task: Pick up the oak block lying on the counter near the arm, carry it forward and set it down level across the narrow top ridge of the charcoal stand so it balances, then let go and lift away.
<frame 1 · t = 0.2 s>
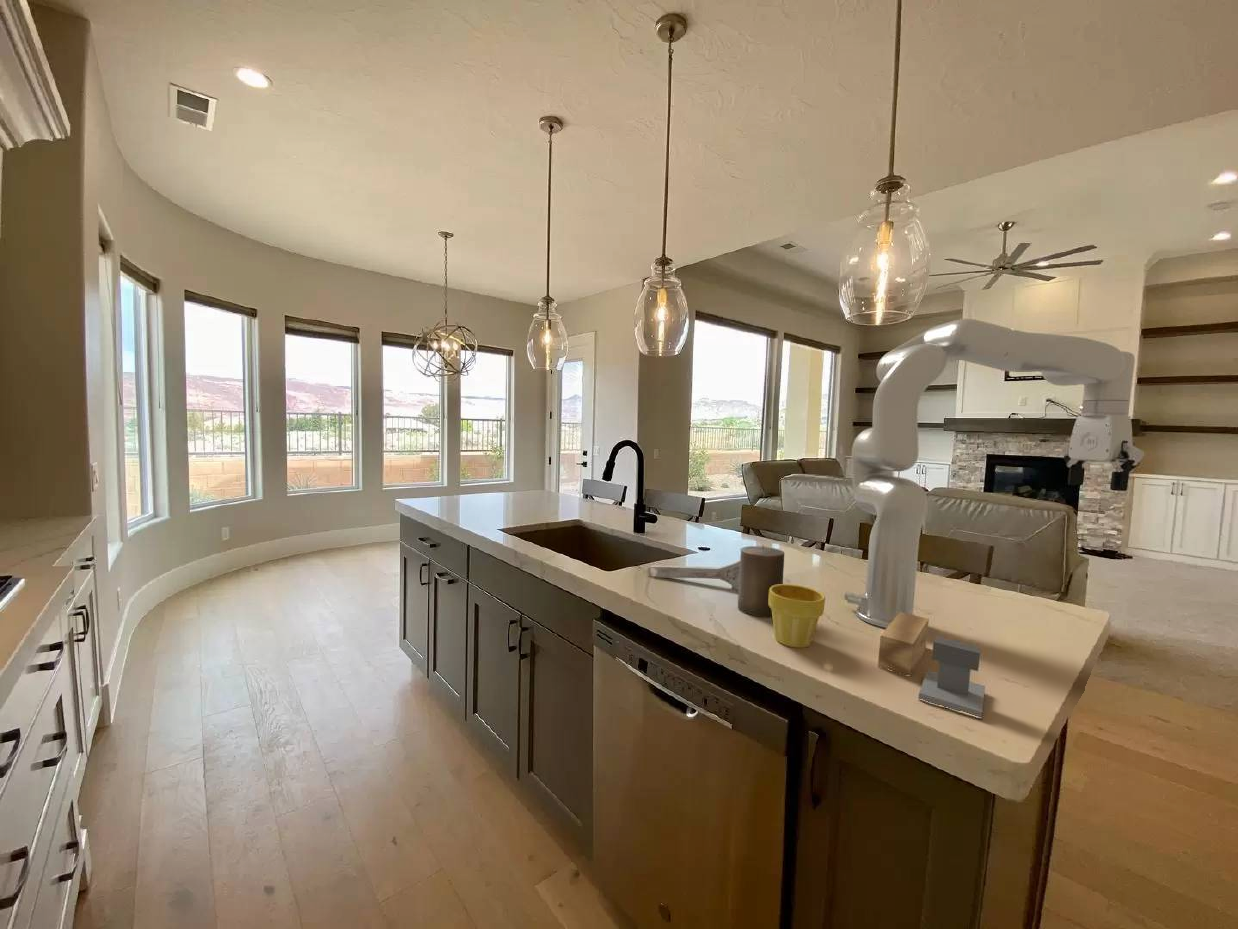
hand: (1095, 487, 113), 31 cm above the counter, tool pointing down, fingers open, 9 cm apart
pillar candle: (758, 610, 117), on the counter
wrench: (700, 584, 135), on the counter
oak block: (903, 658, 95), on the counter
plant pot: (793, 641, 100), on the counter
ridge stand: (951, 696, 81), on the counter
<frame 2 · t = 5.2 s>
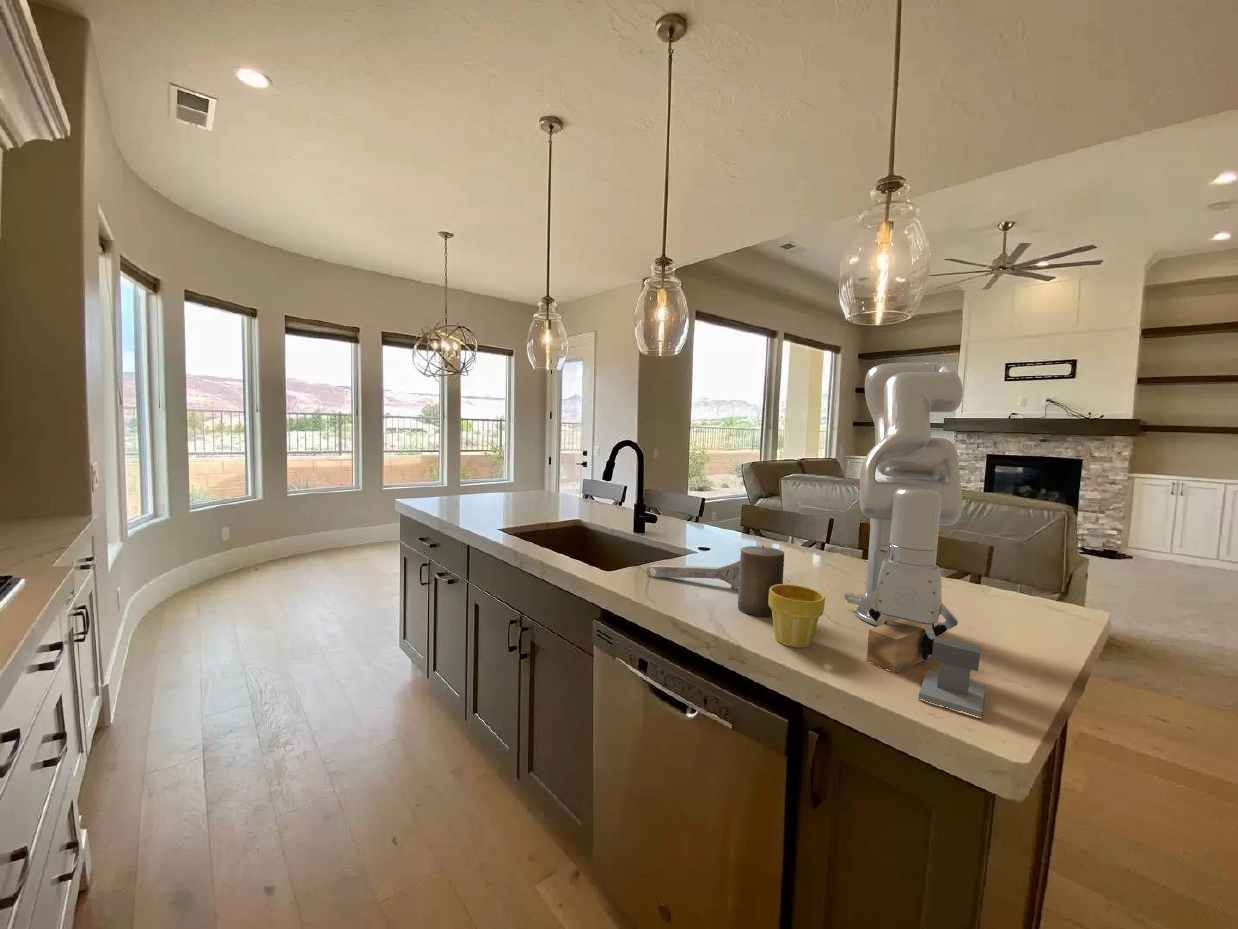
hand: (904, 650, 94), 1 cm above the counter, tool pointing down, fingers closed on oak block, 6 cm apart
oak block: (903, 657, 95), on the counter, touching gripper
everything else where it was.
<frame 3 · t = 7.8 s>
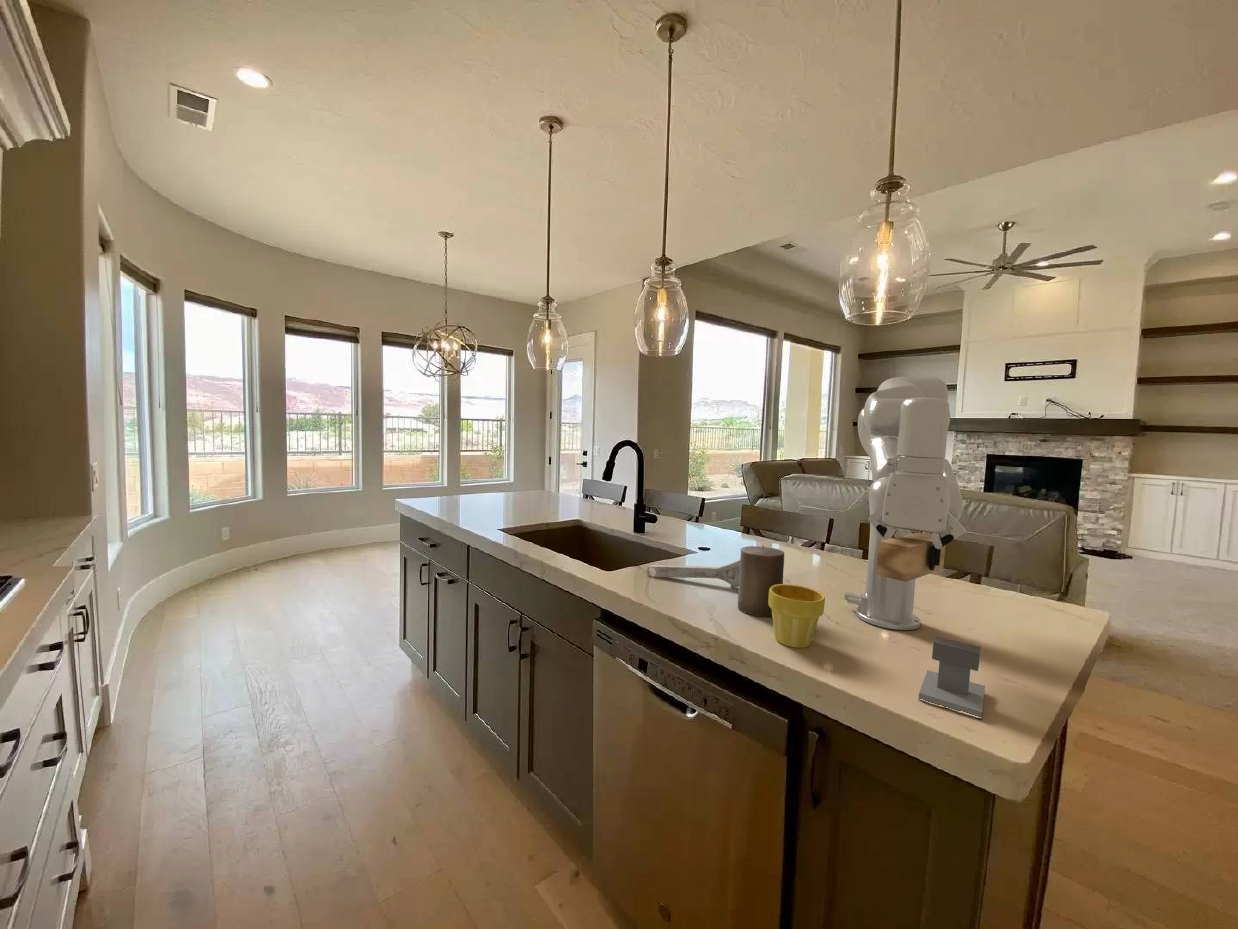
hand: (911, 564, 93), 17 cm above the counter, tool pointing down, fingers closed on oak block, 6 cm apart
oak block: (910, 571, 94), point 16 cm above the counter, touching gripper
everything else where it was.
when the fingers open (11 cm above the counter, at t = 10.6 s): oak block stays where it is, resting on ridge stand.
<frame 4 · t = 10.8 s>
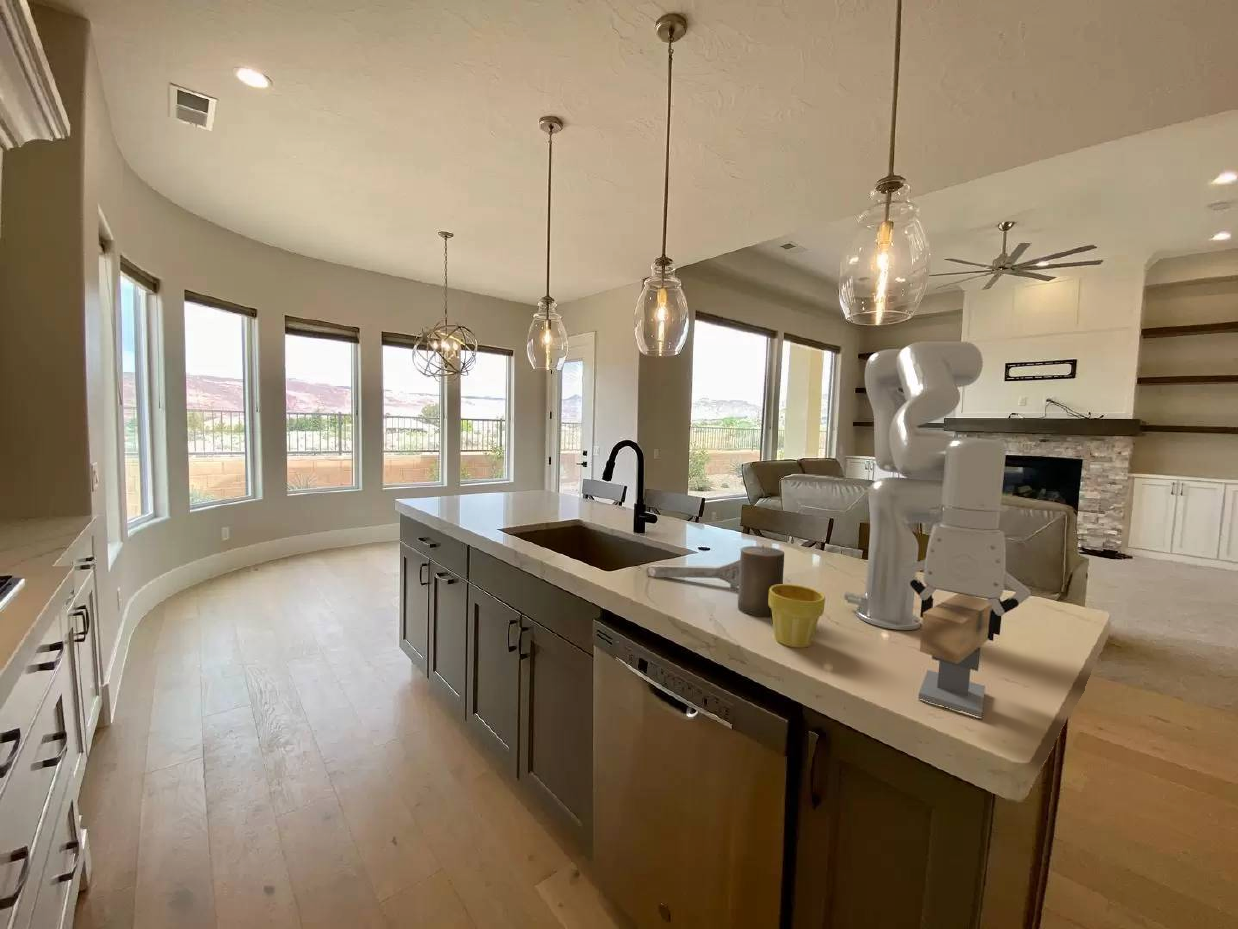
hand: (958, 629, 80), 11 cm above the counter, tool pointing down, fingers open, 7 cm apart
oak block: (956, 644, 80), point 8 cm above the counter, touching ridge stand
everything else where it was.
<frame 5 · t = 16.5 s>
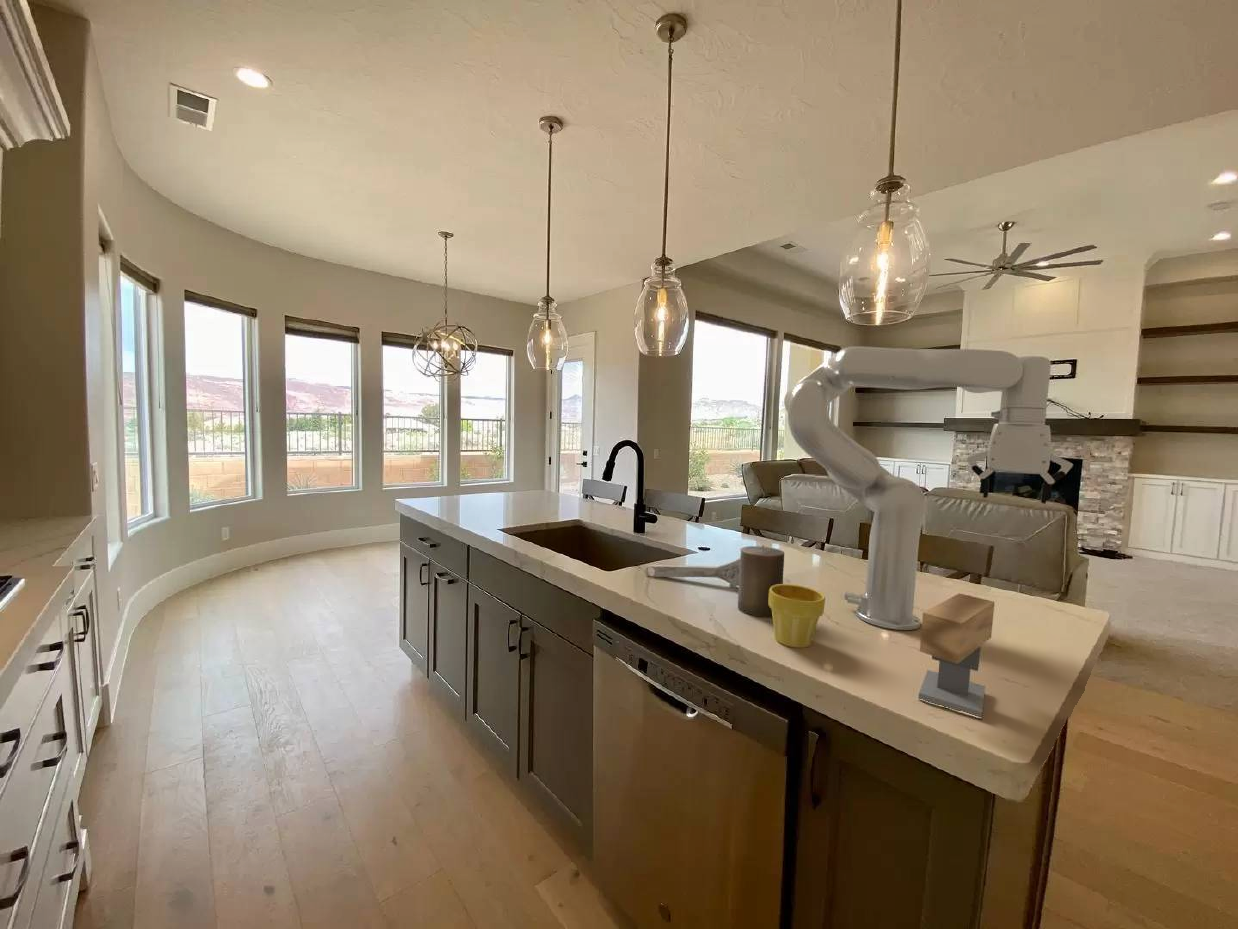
hand: (1013, 500, 107), 28 cm above the counter, tool pointing down, fingers open, 9 cm apart
nothing on the counter moved.
at the end: oak block 0.1 cm off-centre on the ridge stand, point 8.5 cm above the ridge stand's base; oak block tilted 0°; the gripper is holding nothing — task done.
